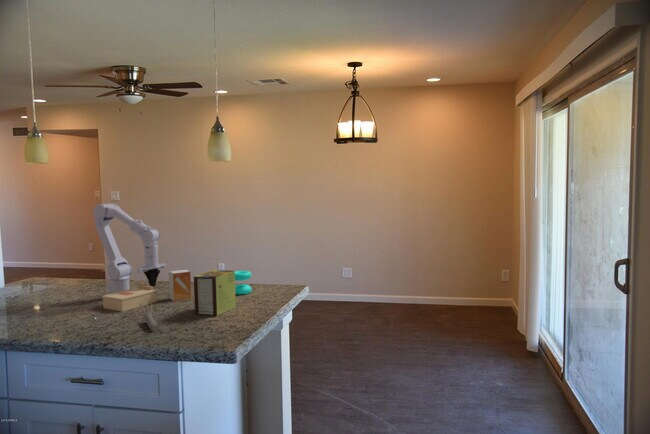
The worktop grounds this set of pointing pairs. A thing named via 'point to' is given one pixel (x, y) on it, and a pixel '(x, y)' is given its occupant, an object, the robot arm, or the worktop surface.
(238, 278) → the donuts
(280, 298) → the worktop surface
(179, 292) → the small box
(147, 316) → the kitchen whisk
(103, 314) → the worktop surface
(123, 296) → the lid
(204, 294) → the protein box
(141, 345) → the worktop surface
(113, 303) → the wooden box
